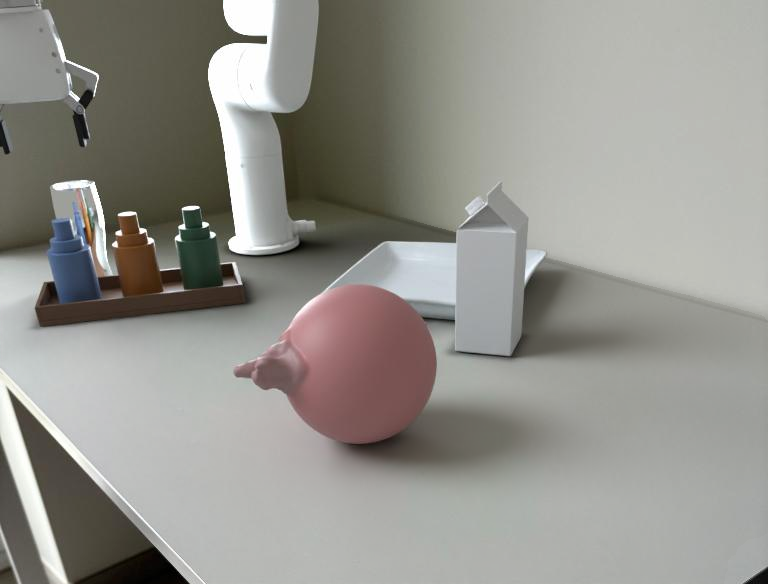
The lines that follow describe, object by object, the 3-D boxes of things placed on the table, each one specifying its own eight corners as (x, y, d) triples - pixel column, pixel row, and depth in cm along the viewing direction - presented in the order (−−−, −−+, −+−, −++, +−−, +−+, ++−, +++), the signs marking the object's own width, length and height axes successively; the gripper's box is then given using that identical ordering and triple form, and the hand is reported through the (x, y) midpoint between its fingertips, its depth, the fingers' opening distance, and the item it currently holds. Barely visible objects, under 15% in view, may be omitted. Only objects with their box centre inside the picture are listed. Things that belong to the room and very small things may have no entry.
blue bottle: (103, 294, 122) (84, 213, 115) (101, 307, 117) (81, 223, 110) (62, 299, 121) (41, 217, 114) (59, 312, 116) (36, 227, 109)
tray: (238, 279, 129) (235, 261, 127) (245, 303, 119) (242, 284, 117) (48, 299, 123) (43, 281, 122) (39, 326, 113) (34, 307, 112)
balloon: (231, 424, 86) (209, 283, 77) (405, 392, 91) (402, 256, 82) (261, 495, 74) (239, 337, 65) (460, 453, 79) (463, 301, 70)
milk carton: (521, 336, 104) (531, 181, 93) (510, 358, 98) (519, 195, 88) (468, 332, 106) (471, 179, 95) (454, 352, 100) (456, 193, 90)
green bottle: (222, 281, 125) (210, 201, 119) (225, 293, 120) (213, 210, 114) (183, 285, 124) (169, 205, 117) (185, 298, 119) (170, 214, 113)
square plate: (384, 261, 134) (383, 237, 131) (547, 272, 125) (549, 247, 123) (319, 316, 113) (317, 289, 110) (511, 334, 104) (513, 305, 102)
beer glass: (63, 286, 129) (38, 188, 120) (92, 273, 134) (69, 178, 126) (98, 290, 126) (74, 190, 118) (126, 277, 132) (105, 180, 123)
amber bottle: (164, 288, 124) (148, 207, 117) (164, 300, 119) (148, 216, 112) (124, 292, 122) (106, 211, 116) (123, 305, 118) (104, 220, 111)
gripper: (81, -7, 103) (113, 138, 112) (-62, 2, 100) (-17, 150, 109) (77, -6, 96) (111, 147, 106) (-76, 4, 93) (-26, 160, 103)
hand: (46, 149), depth 108 cm, fingers open, 9 cm apart
